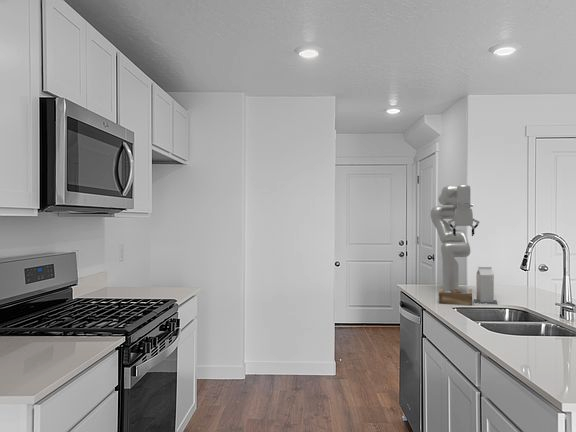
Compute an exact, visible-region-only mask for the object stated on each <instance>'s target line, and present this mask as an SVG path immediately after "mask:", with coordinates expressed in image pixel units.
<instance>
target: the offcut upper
mask: <svg viewBox="0 0 576 432" xmlns="http://www.w3.org/2000/svg"><path fill="white" fill-rule="evenodd" d="M459 290H460V289H458V290H451V293H463V292H462V291H459Z"/></svg>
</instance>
